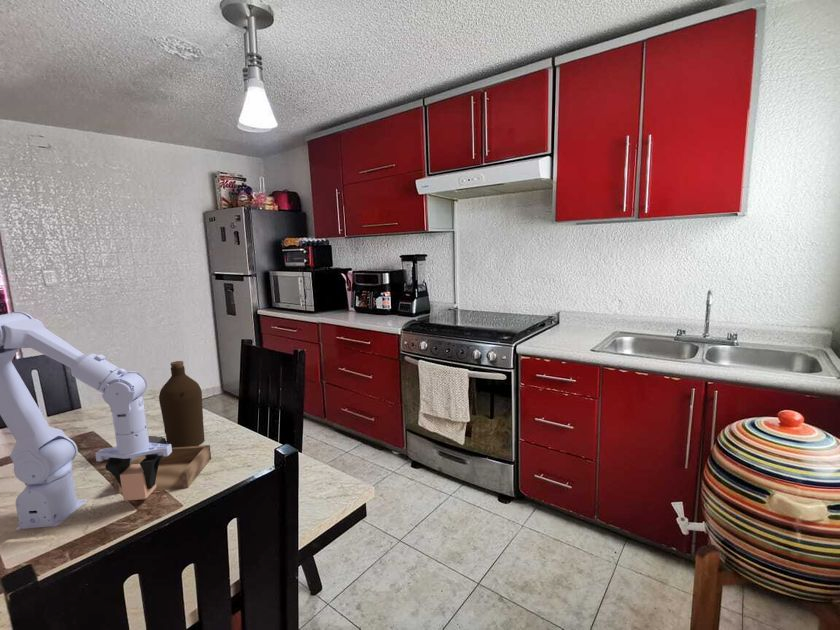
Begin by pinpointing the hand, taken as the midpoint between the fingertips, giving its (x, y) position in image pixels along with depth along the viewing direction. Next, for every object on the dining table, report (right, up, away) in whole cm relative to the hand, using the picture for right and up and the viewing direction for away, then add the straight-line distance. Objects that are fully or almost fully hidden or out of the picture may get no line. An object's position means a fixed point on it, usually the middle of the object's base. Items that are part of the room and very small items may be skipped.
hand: (139, 487), depth 91 cm
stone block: (-17, -2, +24) cm, 30 cm away
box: (-1, -2, +12) cm, 12 cm away
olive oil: (-6, 0, +29) cm, 30 cm away
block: (0, -2, 0) cm, 2 cm away
